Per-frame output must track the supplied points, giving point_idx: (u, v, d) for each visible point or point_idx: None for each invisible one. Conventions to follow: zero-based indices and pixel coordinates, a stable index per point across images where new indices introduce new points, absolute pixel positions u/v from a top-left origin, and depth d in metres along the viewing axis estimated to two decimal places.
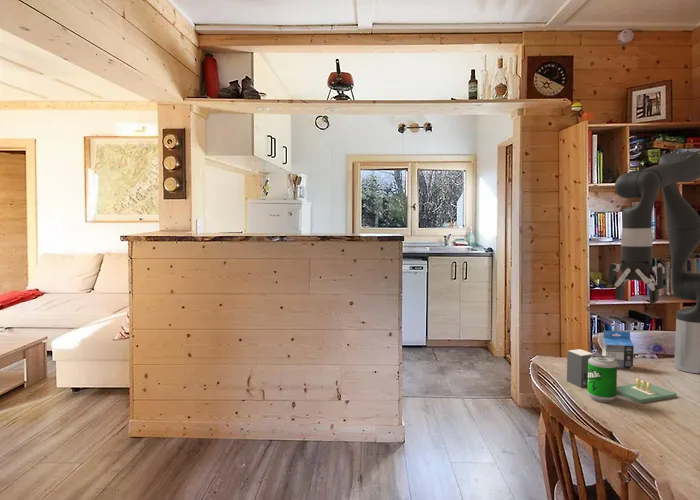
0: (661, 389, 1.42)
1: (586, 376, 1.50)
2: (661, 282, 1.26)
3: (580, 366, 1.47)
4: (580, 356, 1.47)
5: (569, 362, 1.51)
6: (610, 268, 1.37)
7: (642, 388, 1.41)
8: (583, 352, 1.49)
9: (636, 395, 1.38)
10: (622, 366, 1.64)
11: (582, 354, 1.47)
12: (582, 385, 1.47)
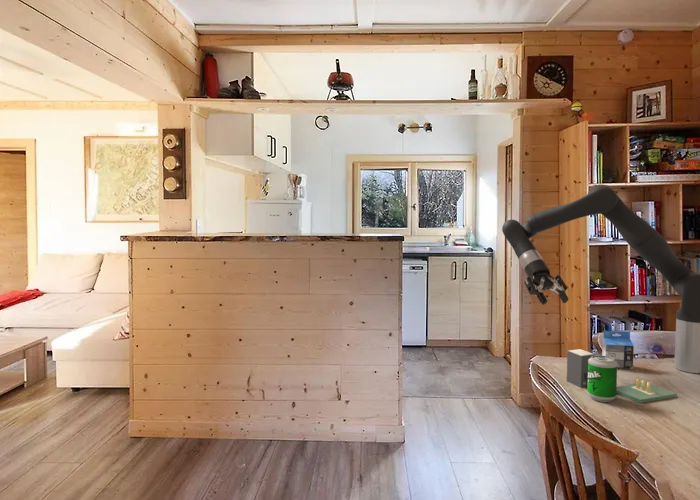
0: (661, 389, 1.42)
1: (586, 376, 1.50)
2: None
3: (580, 366, 1.47)
4: (580, 356, 1.47)
5: (569, 362, 1.51)
6: None
7: (642, 388, 1.41)
8: (583, 352, 1.49)
9: (636, 395, 1.38)
10: (622, 366, 1.64)
11: (582, 354, 1.47)
12: (582, 385, 1.47)
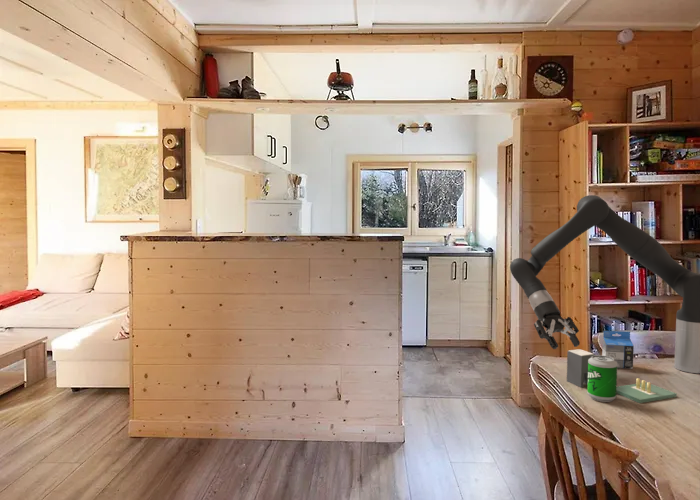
0: (661, 389, 1.42)
1: (586, 376, 1.50)
2: None
3: (580, 366, 1.47)
4: (580, 356, 1.47)
5: (569, 362, 1.51)
6: None
7: (642, 388, 1.41)
8: (583, 352, 1.49)
9: (636, 395, 1.38)
10: (622, 366, 1.64)
11: (582, 354, 1.47)
12: (582, 385, 1.47)
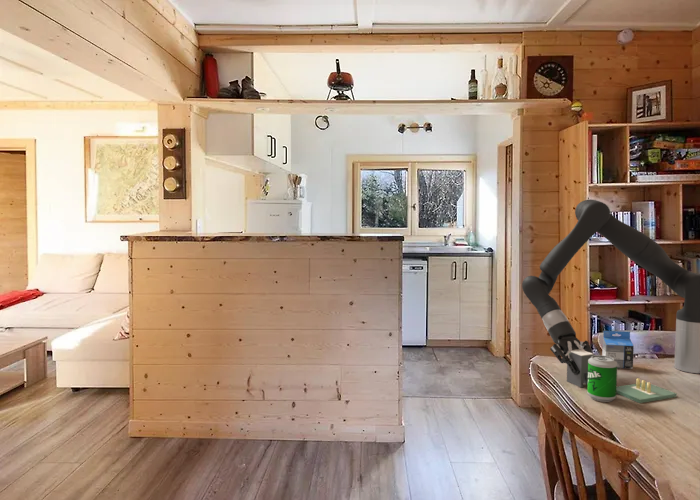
0: (661, 389, 1.42)
1: (586, 376, 1.50)
2: None
3: (580, 366, 1.47)
4: (580, 356, 1.47)
5: None
6: None
7: (642, 388, 1.41)
8: (583, 352, 1.49)
9: (636, 395, 1.38)
10: (622, 366, 1.64)
11: (582, 354, 1.47)
12: (582, 385, 1.47)
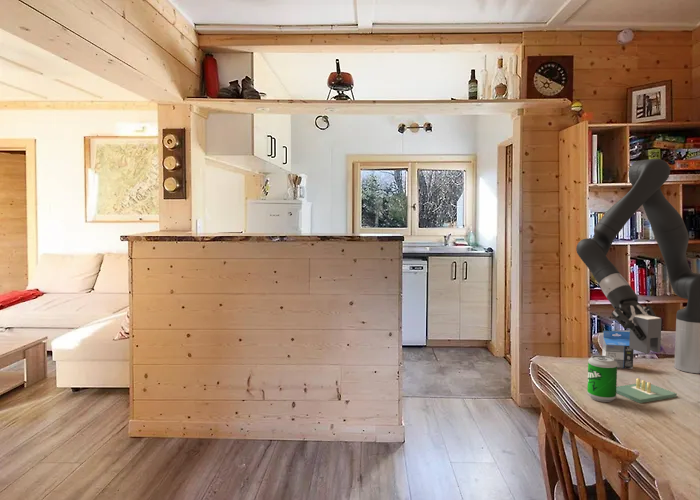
0: (661, 389, 1.42)
1: (652, 343, 1.40)
2: None
3: (646, 331, 1.37)
4: (646, 319, 1.36)
5: None
6: None
7: (642, 388, 1.41)
8: (648, 316, 1.39)
9: (636, 395, 1.38)
10: (622, 366, 1.64)
11: (648, 318, 1.37)
12: (649, 351, 1.37)
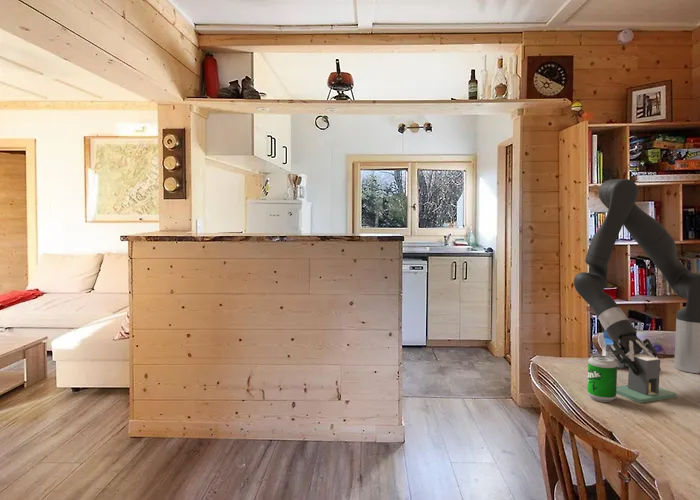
0: (661, 389, 1.42)
1: None
2: None
3: (645, 372, 1.38)
4: (645, 361, 1.38)
5: None
6: None
7: None
8: (647, 357, 1.40)
9: (636, 395, 1.38)
10: (622, 366, 1.64)
11: (647, 359, 1.38)
12: (647, 392, 1.38)
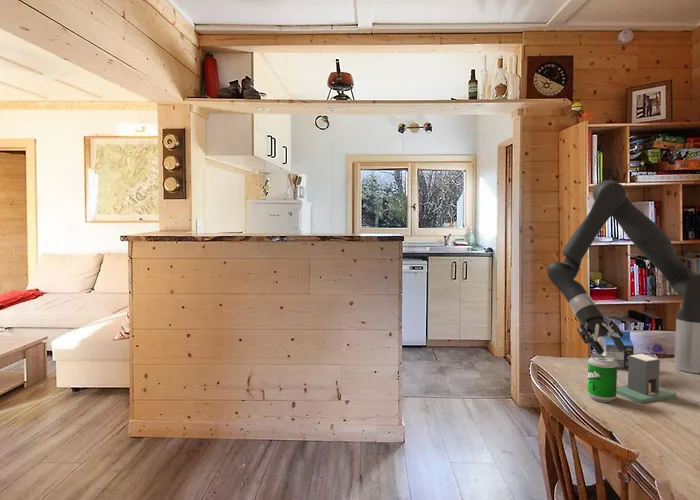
0: (661, 389, 1.42)
1: None
2: None
3: (645, 372, 1.38)
4: (645, 361, 1.37)
5: (631, 368, 1.42)
6: None
7: None
8: (647, 357, 1.40)
9: (636, 395, 1.38)
10: (622, 366, 1.64)
11: (647, 359, 1.38)
12: (647, 392, 1.38)
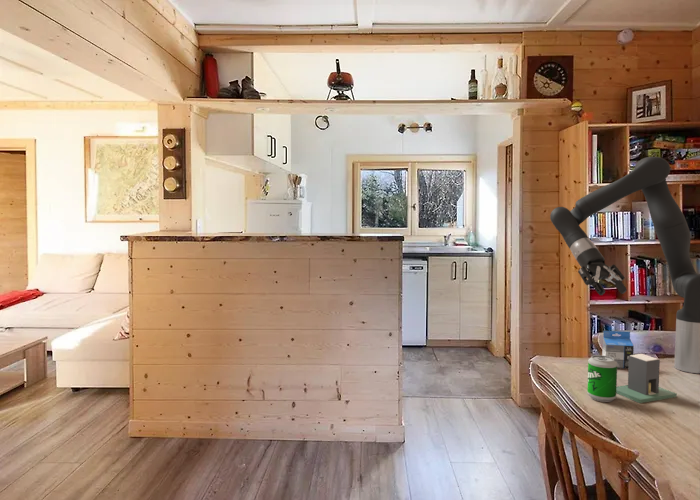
0: (661, 389, 1.42)
1: None
2: None
3: (645, 372, 1.38)
4: (645, 361, 1.37)
5: (631, 368, 1.42)
6: None
7: None
8: (647, 357, 1.40)
9: (636, 395, 1.38)
10: (622, 366, 1.64)
11: (647, 359, 1.38)
12: (647, 392, 1.38)
